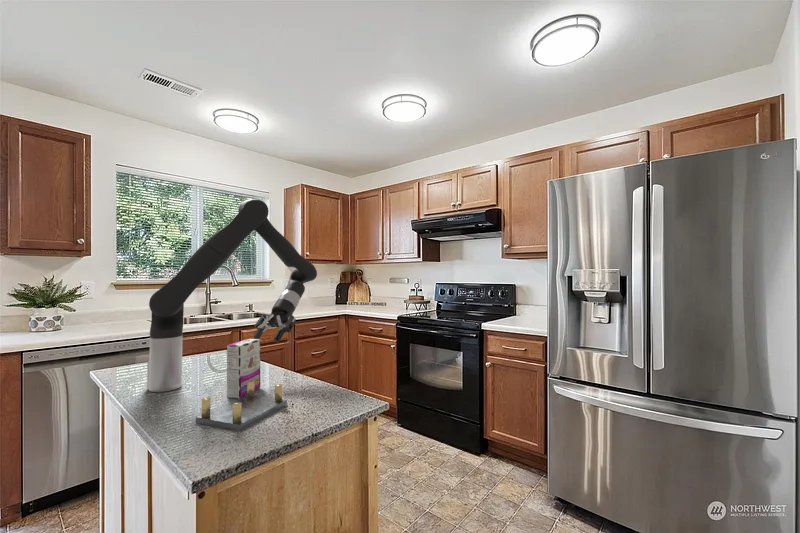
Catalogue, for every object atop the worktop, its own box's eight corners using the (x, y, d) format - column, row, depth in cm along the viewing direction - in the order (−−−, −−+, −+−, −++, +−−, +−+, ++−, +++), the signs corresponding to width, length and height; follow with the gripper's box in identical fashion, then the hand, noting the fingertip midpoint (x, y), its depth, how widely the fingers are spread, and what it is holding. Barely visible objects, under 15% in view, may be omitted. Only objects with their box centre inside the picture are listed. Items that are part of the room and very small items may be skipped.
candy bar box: (247, 387, 122) (248, 338, 123) (260, 388, 121) (261, 338, 122) (225, 398, 111) (225, 344, 112) (239, 399, 110) (240, 345, 111)
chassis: (195, 423, 92) (196, 399, 92) (248, 399, 110) (248, 379, 110) (239, 431, 88) (239, 406, 88) (286, 405, 105) (287, 384, 105)
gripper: (266, 297, 137) (243, 332, 126) (298, 298, 133) (277, 334, 121) (275, 310, 142) (254, 344, 131) (306, 311, 137) (287, 347, 126)
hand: (265, 339), depth 126 cm, fingers open, 8 cm apart
